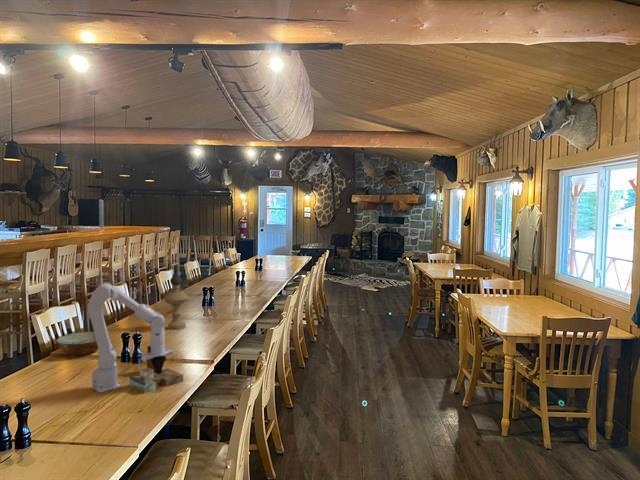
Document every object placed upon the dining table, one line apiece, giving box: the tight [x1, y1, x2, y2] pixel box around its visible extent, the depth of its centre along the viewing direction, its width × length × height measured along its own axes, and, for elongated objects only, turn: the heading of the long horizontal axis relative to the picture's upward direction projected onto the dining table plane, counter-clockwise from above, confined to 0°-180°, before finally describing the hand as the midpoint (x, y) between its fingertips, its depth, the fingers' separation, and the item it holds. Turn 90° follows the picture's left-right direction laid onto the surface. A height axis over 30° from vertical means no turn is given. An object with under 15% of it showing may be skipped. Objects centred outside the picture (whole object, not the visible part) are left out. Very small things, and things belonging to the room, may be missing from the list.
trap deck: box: [128, 367, 184, 394], centre depth 208 cm, size 18×13×4 cm
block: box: [139, 367, 154, 381], centre depth 205 cm, size 4×4×4 cm
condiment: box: [146, 344, 167, 374], centre depth 224 cm, size 7×8×12 cm
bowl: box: [55, 330, 110, 356], centre depth 254 cm, size 25×25×8 cm
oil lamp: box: [163, 264, 189, 331], centre depth 306 cm, size 15×15×40 cm
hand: (158, 373), depth 209 cm, fingers closed
